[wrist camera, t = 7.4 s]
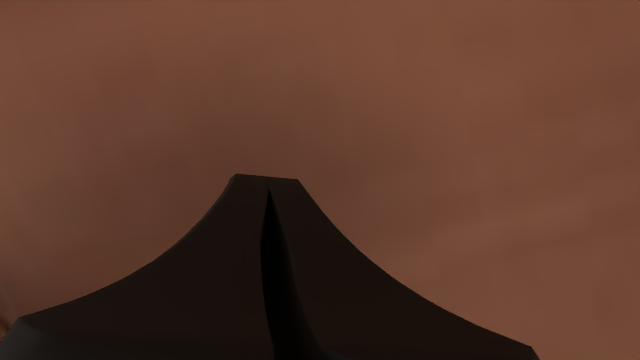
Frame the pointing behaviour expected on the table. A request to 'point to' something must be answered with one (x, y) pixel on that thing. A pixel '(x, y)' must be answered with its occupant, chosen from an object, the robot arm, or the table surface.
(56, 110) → the table surface
